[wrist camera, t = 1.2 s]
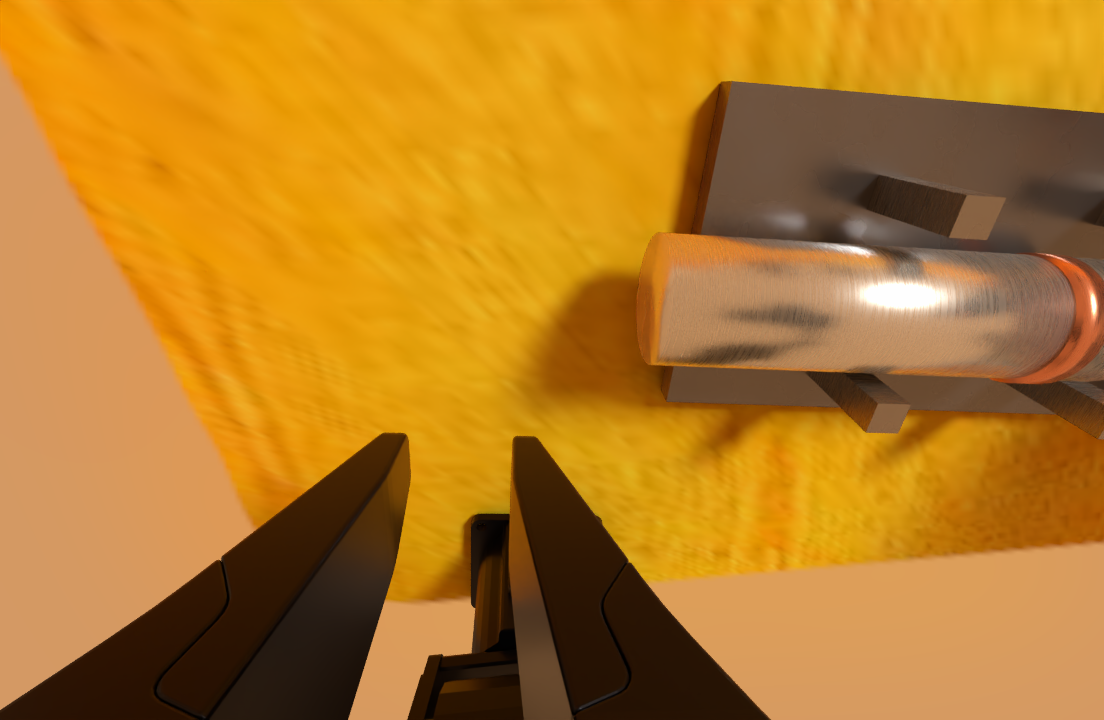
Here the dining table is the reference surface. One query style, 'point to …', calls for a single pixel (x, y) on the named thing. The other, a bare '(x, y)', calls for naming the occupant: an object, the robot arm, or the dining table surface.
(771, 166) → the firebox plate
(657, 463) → the dining table surface
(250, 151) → the dining table surface
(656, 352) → the tube
